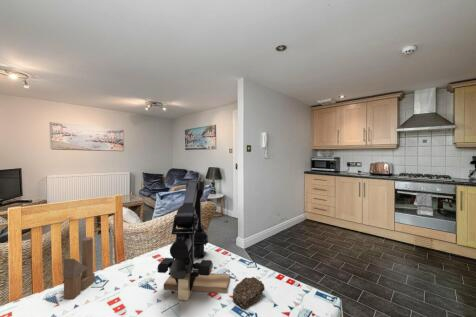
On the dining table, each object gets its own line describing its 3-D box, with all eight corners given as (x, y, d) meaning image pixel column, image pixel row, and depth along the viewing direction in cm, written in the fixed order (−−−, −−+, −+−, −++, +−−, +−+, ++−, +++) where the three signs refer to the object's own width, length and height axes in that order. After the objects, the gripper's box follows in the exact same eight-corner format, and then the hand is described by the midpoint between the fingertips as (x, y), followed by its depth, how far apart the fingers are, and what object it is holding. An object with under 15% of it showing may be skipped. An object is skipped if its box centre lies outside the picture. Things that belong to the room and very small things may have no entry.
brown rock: (251, 285, 81) (251, 272, 81) (269, 299, 73) (269, 285, 73) (226, 295, 75) (226, 281, 75) (241, 312, 66) (241, 296, 66)
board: (173, 275, 87) (173, 271, 87) (230, 279, 85) (230, 274, 85) (163, 289, 78) (163, 283, 78) (226, 293, 76) (226, 287, 76)
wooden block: (63, 299, 72) (63, 247, 72) (86, 281, 83) (86, 236, 83) (73, 299, 72) (73, 247, 72) (95, 281, 83) (95, 236, 83)
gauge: (191, 277, 86) (191, 260, 86) (199, 277, 85) (199, 260, 85) (178, 299, 72) (178, 279, 72) (187, 300, 72) (187, 279, 72)
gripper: (149, 255, 67) (148, 303, 67) (205, 258, 65) (205, 307, 65) (164, 241, 79) (164, 283, 78) (213, 244, 77) (213, 286, 76)
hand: (185, 289), depth 74 cm, fingers closed on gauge, 3 cm apart
